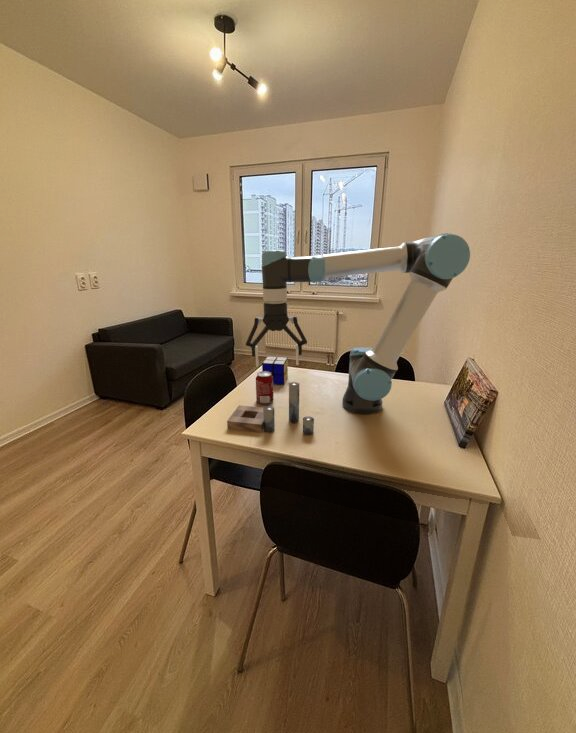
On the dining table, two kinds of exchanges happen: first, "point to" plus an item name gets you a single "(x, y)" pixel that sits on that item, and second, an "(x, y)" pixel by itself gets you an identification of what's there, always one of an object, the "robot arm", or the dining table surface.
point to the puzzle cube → (276, 369)
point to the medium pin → (269, 419)
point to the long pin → (293, 402)
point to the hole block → (247, 419)
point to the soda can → (264, 387)
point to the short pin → (308, 425)
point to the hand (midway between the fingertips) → (277, 364)
